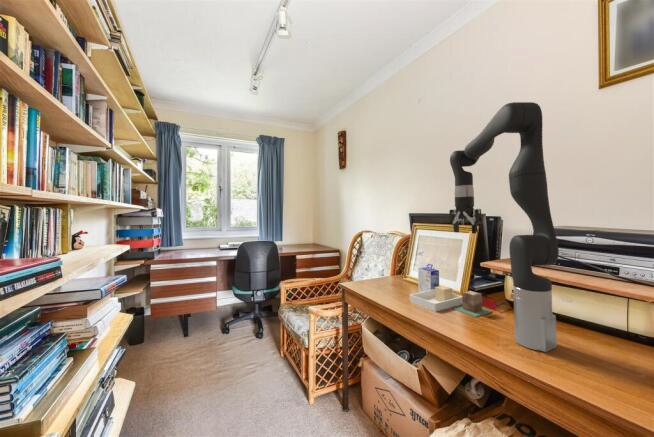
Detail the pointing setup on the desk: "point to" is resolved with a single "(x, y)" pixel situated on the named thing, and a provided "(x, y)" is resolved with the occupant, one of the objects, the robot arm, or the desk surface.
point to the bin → (429, 301)
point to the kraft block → (443, 293)
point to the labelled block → (472, 301)
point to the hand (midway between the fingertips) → (465, 232)
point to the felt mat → (484, 311)
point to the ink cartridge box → (427, 278)
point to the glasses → (490, 303)
